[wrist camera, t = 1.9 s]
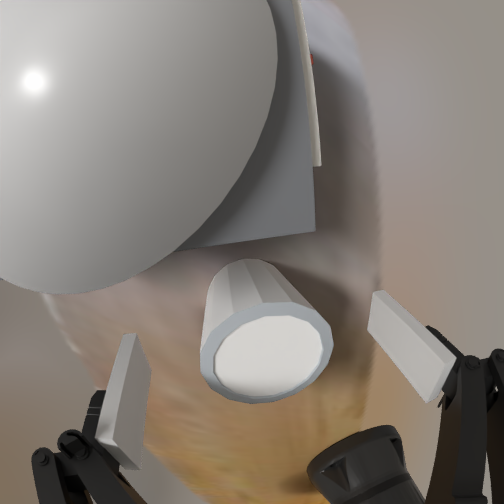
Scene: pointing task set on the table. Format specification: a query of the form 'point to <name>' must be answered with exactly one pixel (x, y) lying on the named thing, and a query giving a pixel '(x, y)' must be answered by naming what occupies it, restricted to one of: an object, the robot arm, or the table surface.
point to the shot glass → (260, 335)
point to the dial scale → (149, 133)
